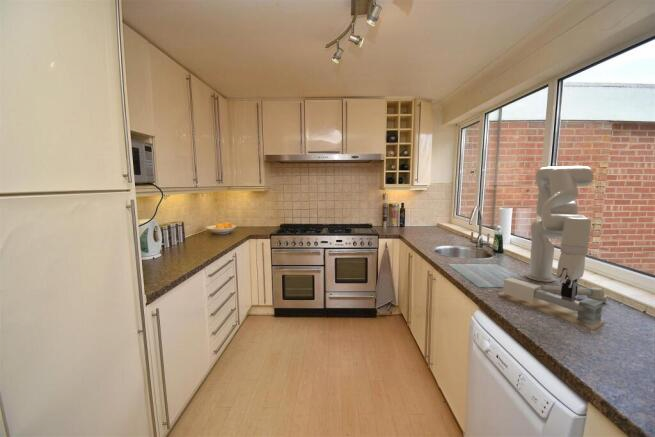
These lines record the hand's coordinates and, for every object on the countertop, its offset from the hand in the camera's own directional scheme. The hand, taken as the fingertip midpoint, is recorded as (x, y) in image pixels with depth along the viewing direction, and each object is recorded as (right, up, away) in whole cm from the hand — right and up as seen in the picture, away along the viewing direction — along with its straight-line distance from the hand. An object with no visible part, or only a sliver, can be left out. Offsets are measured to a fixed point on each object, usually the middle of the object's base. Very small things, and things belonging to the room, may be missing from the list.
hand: (568, 295), depth 103 cm
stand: (-3, -7, +7) cm, 11 cm away
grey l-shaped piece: (-1, -4, +4) cm, 6 cm away
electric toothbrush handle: (+15, -6, +17) cm, 24 cm away
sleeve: (-7, -5, +16) cm, 18 cm away
